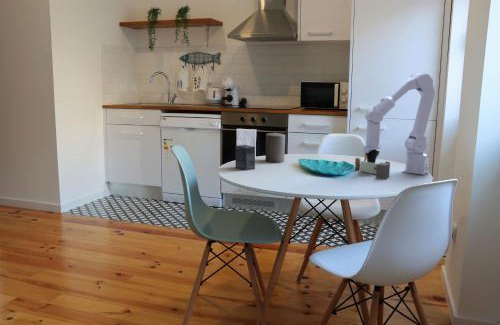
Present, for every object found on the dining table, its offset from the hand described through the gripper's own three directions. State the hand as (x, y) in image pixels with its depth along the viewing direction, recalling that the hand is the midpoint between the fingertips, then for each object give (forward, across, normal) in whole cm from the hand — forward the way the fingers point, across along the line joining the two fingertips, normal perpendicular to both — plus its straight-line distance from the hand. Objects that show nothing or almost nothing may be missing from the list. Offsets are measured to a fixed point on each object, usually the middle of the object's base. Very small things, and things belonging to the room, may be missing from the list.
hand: (371, 166), depth 212 cm
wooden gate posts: (+3, -1, 0) cm, 3 cm away
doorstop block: (+3, +7, +8) cm, 11 cm away
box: (+3, +29, -50) cm, 57 cm away
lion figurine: (+3, -19, -8) cm, 21 cm away
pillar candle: (+3, +5, -49) cm, 49 cm away
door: (+2, +2, 0) cm, 3 cm away
